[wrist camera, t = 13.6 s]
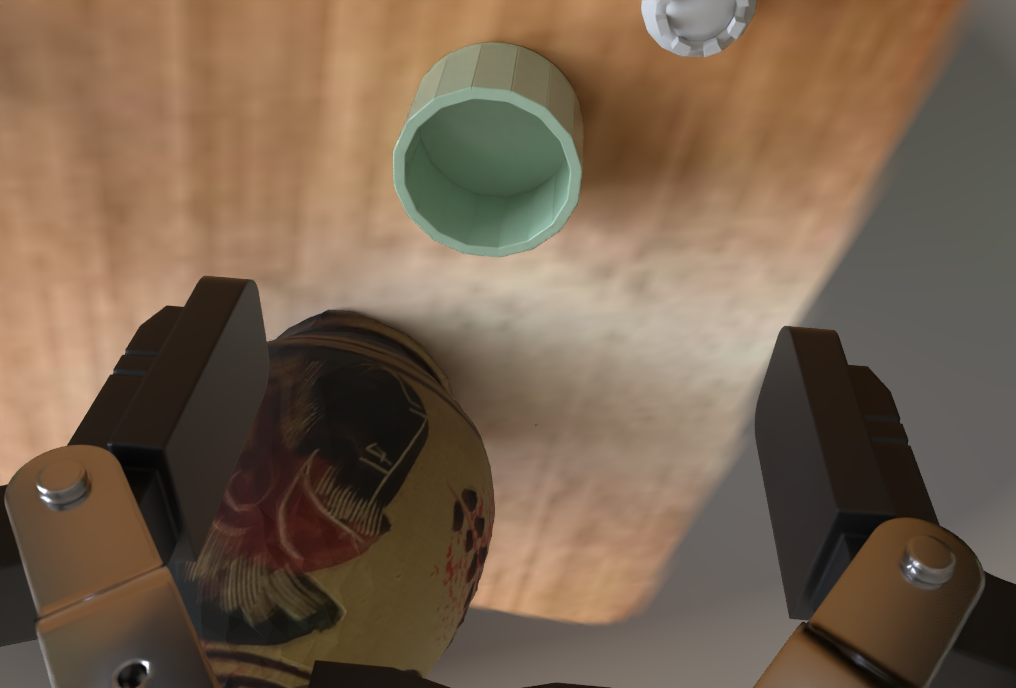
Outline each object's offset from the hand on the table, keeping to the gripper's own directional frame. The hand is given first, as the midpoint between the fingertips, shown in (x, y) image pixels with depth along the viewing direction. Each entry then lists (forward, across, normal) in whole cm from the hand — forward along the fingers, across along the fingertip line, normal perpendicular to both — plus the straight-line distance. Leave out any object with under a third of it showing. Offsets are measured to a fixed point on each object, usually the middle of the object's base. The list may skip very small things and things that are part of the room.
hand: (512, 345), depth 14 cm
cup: (+23, +2, +8) cm, 24 cm away
